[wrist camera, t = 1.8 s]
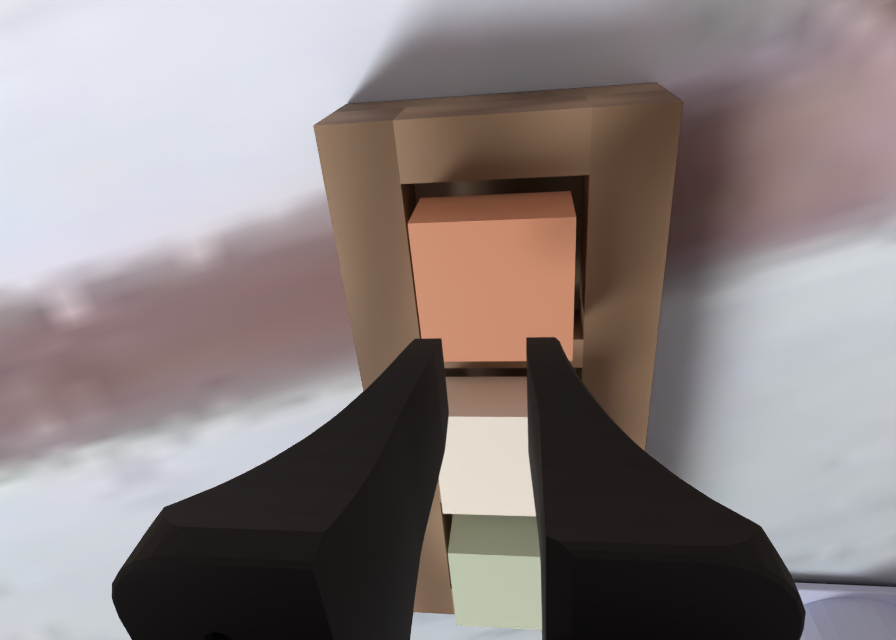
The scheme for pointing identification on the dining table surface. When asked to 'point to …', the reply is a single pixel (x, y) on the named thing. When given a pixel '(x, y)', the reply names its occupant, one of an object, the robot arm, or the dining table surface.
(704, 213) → the dining table surface
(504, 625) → the key sage
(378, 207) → the wooden tray
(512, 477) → the key cream
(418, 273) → the key rust
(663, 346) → the dining table surface
